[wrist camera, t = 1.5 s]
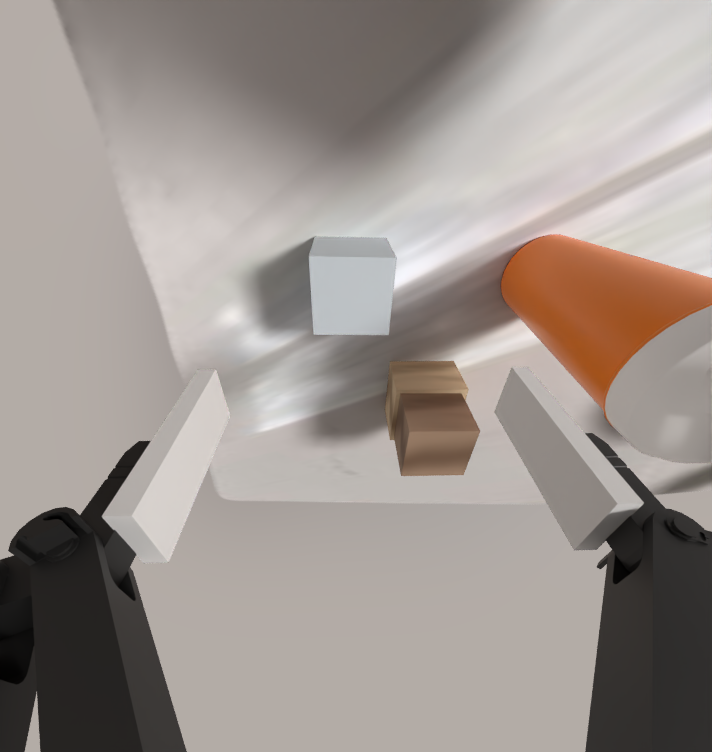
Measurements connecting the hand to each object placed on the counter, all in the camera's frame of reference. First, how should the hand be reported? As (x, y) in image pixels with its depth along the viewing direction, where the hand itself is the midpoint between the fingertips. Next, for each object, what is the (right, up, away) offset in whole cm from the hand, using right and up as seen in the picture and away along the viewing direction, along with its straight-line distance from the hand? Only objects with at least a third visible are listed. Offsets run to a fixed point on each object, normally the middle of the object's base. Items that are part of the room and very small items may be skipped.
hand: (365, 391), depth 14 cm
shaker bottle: (+16, +10, +14) cm, 24 cm away
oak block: (+7, 0, +21) cm, 22 cm away
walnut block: (+7, -3, +17) cm, 19 cm away
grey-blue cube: (-1, +10, +13) cm, 17 cm away
